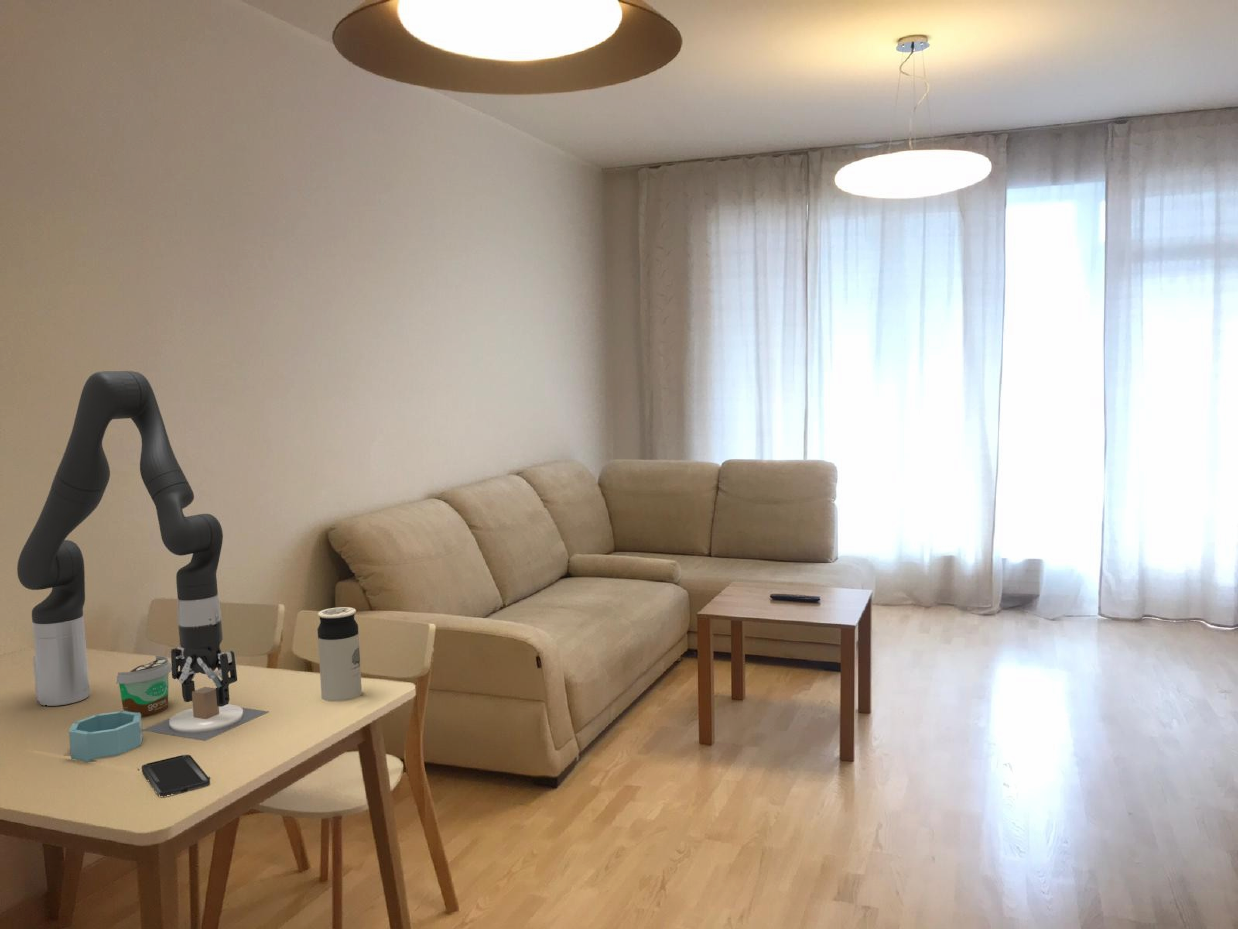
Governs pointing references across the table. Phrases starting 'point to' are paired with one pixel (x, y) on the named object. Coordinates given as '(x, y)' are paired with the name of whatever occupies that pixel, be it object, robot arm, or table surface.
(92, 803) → the table surface
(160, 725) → the mat
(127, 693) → the food container
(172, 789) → the phone
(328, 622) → the travel mug
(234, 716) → the lid
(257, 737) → the table surface
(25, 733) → the table surface
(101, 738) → the bowl
